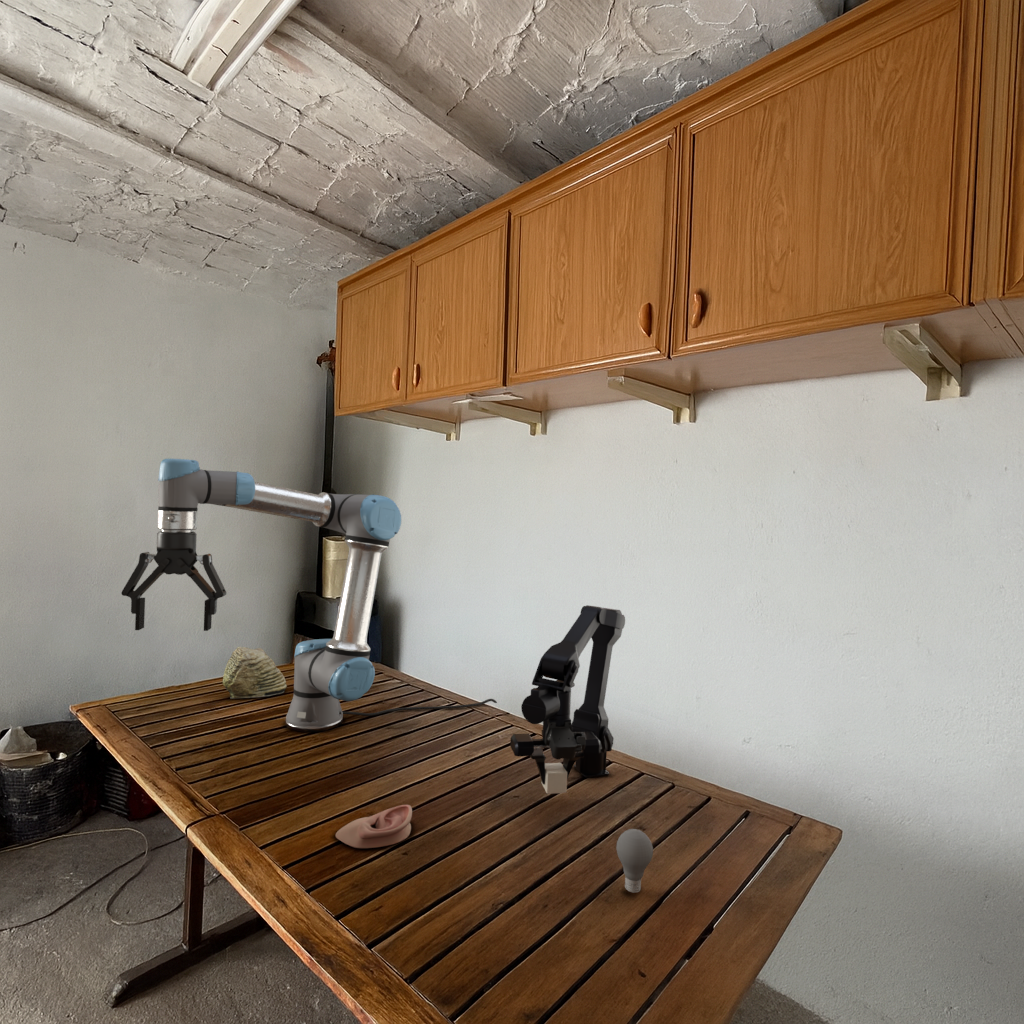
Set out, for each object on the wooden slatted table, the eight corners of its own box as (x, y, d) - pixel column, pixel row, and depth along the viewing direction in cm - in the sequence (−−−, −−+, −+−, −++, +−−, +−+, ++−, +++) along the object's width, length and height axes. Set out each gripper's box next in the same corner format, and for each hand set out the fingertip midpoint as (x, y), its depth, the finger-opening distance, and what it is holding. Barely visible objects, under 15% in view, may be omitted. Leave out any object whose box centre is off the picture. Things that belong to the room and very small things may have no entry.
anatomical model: (328, 822, 116) (356, 794, 127) (327, 843, 116) (355, 813, 127) (396, 832, 113) (418, 803, 124) (395, 855, 113) (418, 823, 124)
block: (546, 793, 133) (547, 773, 133) (541, 783, 138) (542, 763, 138) (566, 792, 134) (567, 772, 134) (560, 782, 139) (561, 762, 139)
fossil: (218, 695, 195) (220, 647, 195) (278, 685, 208) (279, 640, 207) (228, 703, 189) (230, 653, 188) (289, 692, 201) (290, 645, 201)
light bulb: (610, 879, 108) (613, 822, 108) (644, 879, 109) (647, 822, 109) (619, 902, 102) (622, 840, 102) (655, 901, 103) (658, 840, 103)
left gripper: (105, 529, 130) (102, 632, 131) (233, 533, 134) (230, 633, 135) (121, 527, 138) (118, 625, 138) (242, 531, 142) (239, 626, 142)
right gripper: (521, 725, 126) (518, 803, 126) (611, 723, 130) (607, 798, 130) (511, 707, 137) (508, 778, 137) (593, 705, 140) (590, 775, 141)
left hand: (173, 629), depth 136 cm, fingers open, 13 cm apart
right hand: (553, 783), depth 136 cm, fingers closed on block, 4 cm apart
